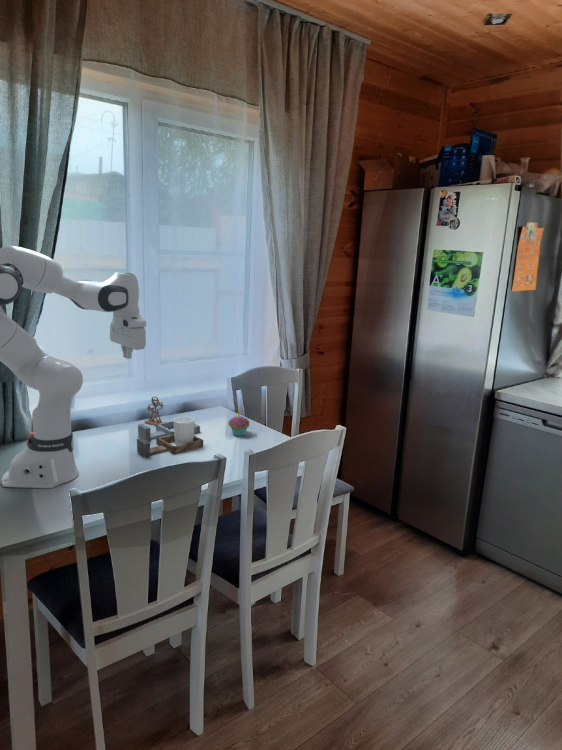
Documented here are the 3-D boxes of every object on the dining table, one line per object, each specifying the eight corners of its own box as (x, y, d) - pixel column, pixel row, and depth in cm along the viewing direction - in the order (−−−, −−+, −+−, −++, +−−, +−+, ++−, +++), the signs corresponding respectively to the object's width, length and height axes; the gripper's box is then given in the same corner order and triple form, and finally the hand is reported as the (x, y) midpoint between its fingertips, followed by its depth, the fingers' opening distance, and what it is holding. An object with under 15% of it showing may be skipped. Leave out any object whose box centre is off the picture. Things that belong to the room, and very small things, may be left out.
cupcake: (248, 438, 220) (249, 409, 217) (226, 437, 220) (227, 408, 217) (249, 430, 228) (250, 403, 225) (229, 429, 228) (229, 402, 225)
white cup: (183, 450, 204) (183, 424, 202) (169, 444, 209) (169, 419, 207) (198, 444, 210) (199, 419, 208) (184, 439, 215) (184, 415, 213)
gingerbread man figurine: (144, 423, 232) (143, 395, 229) (150, 421, 235) (150, 393, 232) (160, 427, 227) (159, 399, 224) (166, 425, 231) (166, 397, 228)
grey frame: (149, 443, 209) (149, 431, 208) (134, 434, 217) (134, 422, 216) (199, 431, 223) (199, 420, 222) (183, 424, 232) (183, 412, 231)
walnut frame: (149, 459, 194) (149, 446, 192) (133, 449, 202) (132, 436, 201) (203, 446, 208) (203, 433, 207) (185, 437, 217) (185, 425, 216)
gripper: (104, 315, 198) (106, 353, 201) (131, 323, 183) (132, 364, 186) (121, 314, 202) (122, 352, 205) (148, 322, 187) (149, 362, 190)
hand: (127, 358), depth 196 cm, fingers closed
